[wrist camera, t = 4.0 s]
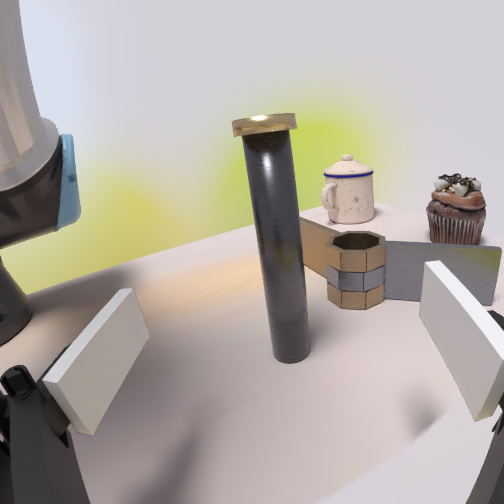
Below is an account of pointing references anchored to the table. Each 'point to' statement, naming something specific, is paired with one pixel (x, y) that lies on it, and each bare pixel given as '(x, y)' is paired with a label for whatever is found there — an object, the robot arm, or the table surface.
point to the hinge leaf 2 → (412, 270)
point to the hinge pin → (277, 230)
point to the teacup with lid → (348, 192)
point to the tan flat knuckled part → (344, 259)
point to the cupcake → (456, 211)
